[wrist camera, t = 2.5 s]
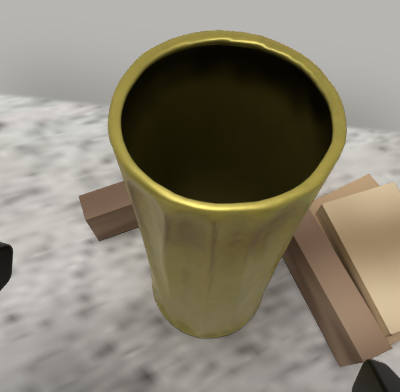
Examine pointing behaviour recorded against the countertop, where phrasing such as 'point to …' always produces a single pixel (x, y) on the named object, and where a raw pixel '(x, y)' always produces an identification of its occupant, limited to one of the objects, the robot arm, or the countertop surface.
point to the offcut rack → (321, 260)
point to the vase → (221, 166)
